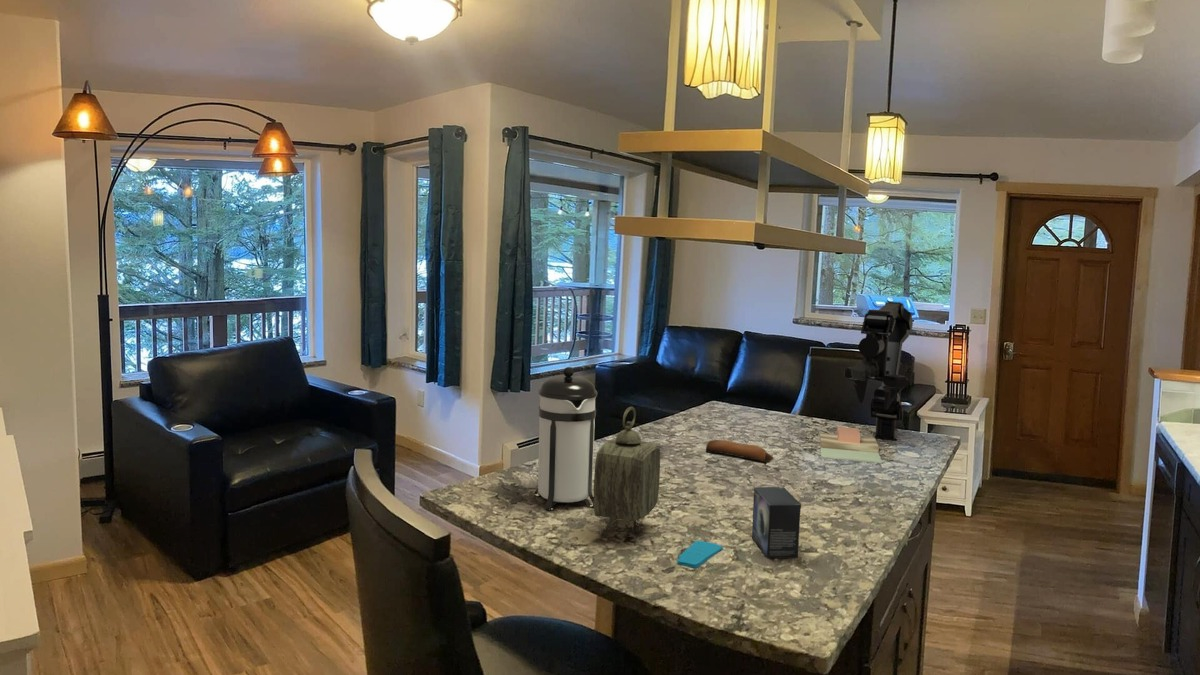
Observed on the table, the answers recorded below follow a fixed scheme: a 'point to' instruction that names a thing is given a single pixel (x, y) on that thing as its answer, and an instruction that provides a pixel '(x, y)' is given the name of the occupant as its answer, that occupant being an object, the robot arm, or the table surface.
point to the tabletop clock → (626, 477)
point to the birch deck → (832, 443)
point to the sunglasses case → (738, 450)
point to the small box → (776, 522)
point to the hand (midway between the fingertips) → (873, 405)
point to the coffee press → (566, 439)
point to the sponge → (698, 554)
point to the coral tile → (848, 435)
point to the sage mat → (850, 455)
